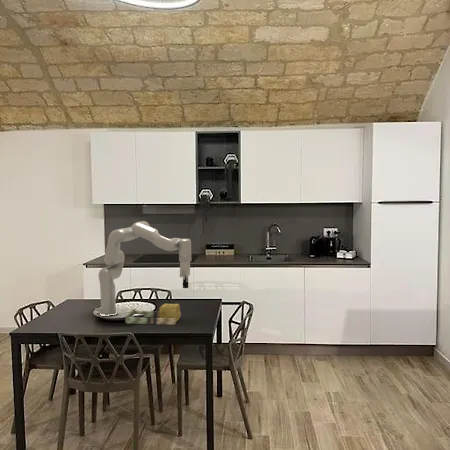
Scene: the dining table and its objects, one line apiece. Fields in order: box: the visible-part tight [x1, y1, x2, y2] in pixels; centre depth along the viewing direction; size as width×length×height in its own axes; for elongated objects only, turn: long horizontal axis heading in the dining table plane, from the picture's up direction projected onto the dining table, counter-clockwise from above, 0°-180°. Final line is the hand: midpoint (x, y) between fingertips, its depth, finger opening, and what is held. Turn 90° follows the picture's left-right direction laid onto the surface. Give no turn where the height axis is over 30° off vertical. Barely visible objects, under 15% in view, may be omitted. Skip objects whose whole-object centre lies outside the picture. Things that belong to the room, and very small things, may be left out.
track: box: [125, 308, 182, 326], centre depth 302 cm, size 31×16×4 cm, turn 83°
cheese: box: [158, 303, 181, 322], centre depth 300 cm, size 10×11×10 cm
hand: (185, 287), depth 298 cm, fingers closed
